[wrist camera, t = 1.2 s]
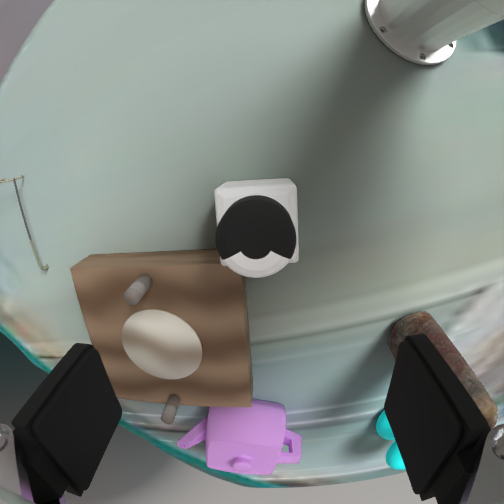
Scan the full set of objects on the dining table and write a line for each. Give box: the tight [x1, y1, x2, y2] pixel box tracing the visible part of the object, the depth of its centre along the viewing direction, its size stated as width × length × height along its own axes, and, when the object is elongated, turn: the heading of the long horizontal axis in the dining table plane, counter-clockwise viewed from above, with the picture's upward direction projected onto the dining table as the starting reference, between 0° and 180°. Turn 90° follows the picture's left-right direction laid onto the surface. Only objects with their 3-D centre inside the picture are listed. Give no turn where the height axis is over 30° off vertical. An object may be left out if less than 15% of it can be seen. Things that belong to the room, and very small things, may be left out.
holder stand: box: [70, 249, 253, 424], centre depth 34 cm, size 20×20×9 cm
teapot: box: [177, 399, 302, 475], centre depth 39 cm, size 18×10×10 cm, turn 82°
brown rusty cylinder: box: [389, 311, 498, 430], centre depth 28 cm, size 8×7×20 cm
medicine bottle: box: [214, 178, 299, 278], centre depth 28 cm, size 7×7×12 cm
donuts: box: [376, 410, 406, 470], centre depth 38 cm, size 10×10×10 cm
